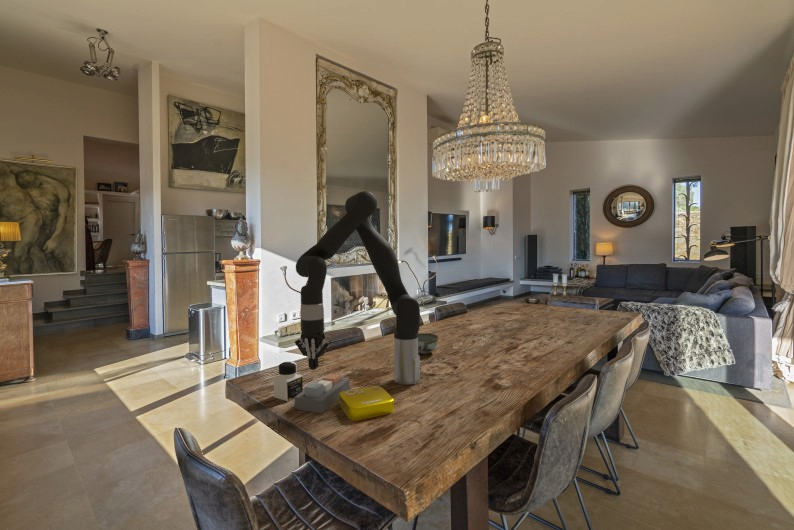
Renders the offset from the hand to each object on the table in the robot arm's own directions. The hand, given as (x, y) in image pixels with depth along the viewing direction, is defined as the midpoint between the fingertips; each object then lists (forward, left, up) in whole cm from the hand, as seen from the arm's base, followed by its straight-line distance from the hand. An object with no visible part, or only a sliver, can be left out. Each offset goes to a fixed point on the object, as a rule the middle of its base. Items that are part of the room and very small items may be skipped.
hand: (313, 368), depth 127 cm
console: (0, -6, -13) cm, 14 cm away
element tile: (-17, -4, -13) cm, 22 cm away
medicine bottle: (+13, -4, -13) cm, 19 cm away
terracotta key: (0, -12, -10) cm, 16 cm away
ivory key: (0, -6, -10) cm, 12 cm away
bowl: (-19, -69, -13) cm, 73 cm away
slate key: (0, 0, -9) cm, 9 cm away
